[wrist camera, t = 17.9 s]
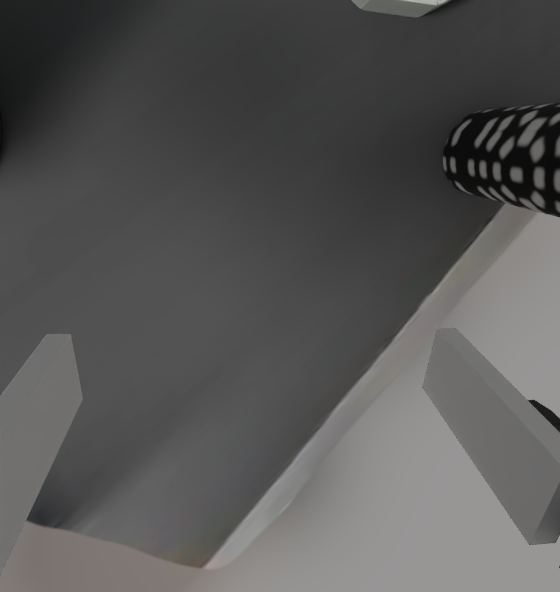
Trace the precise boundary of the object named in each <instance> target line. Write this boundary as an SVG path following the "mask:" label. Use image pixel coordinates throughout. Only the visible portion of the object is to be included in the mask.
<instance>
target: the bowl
mask: <svg viewBox="0 0 560 592" xmlns="http://www.w3.org/2000/svg"><path fill="white" fill-rule="evenodd" d="M351 1H352V2H353V3H354V4H355V5H356V6H357V7H359V8H360V9H362V8H363V9H362V10H364V11H371V12H378V13H386V14H393V15H401V16H408V17H416V18H418V17H421V16H423V15H425V14H426V13H428V12H430V11H432V10H434V9H436V8H438V7H440V6H442V5H444V4H446V3H448V2H450V1H452V0H351Z"/></svg>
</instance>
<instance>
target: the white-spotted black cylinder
mask: <svg viewBox="0 0 560 592" xmlns="http://www.w3.org/2000/svg"><path fill="white" fill-rule="evenodd" d="M443 166H444V171H445V174H446V176H447V178H448V180H449V181H450V183H451V184H452V185H453V186H454V187H455V188H457V189H458V190H460V191H462V192H465V193H469V194H473V195H477V196H480V197H484V198H488V199H492V200H496V201H499V202H503V203H507V204H511V205H515V206H519V207H522V208H526V209H530V210H534V211H538V212H542V213H545V214H550V215H553V216H557V217H560V103H550V104H539V105H529V106H518V107H507V108H496V109H486V110H480V111H477V112H474V113H472V114H470V115H468V116H467V117H465V118H464V119H463V120H461V121H460V122H459V123H458V124H457V125H456V126H455V128H454V129H453V130H452V132H451V134H450V135H449V137H448V139H447V142H446V145H445V147H444V153H443Z"/></svg>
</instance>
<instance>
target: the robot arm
mask: <svg viewBox="0 0 560 592" xmlns="http://www.w3.org/2000/svg"><path fill="white" fill-rule="evenodd" d="M1 143H2V122H1V115H0V149H1ZM423 389H424V391H425V392H426V393H427V395H428V396H429V398H430V399H431V401H432V402H433V404H434V405H435V407H436V408H437V409H438V411H439V413H440V414H441V415H442V417H443V419H444V420H445V421H446V423H447V424H448V426H449V427H450V429H451V430H452V432H453V433H454V435H455V436H456V438H457V439H458V441H459V442H460V444H461V445H462V447H463V448H464V449H465V451H466V452H467V454H468V455H469V456H470V458H471V460H472V461H473V463H474V464H475V465H476V467H477V469H478V470H479V471H480V473H481V474H482V476H483V477H484V479H485V480H486V482H487V483H488V485H489V486H490V488H491V489H492V491H493V492H494V494H495V495H496V496H497V498H498V500H499V501H500V503H501V504H502V505H503V507H504V508H505V510H506V511H507V513H508V514H509V515H510V517H511V519H512V520H513V522H514V523H515V525H516V526H517V528H518V529H519V531H520V532H521V534H522V535H523V536H524V538H525V539H526V541H527V542H528V544H529V545H536V544H546V543H556V541H557V539H558V537H559V535H560V419H559V418H558V417H557V416H556V415H555V414H554V413H553V412H552V411H551V410H549V409H548V408H546V407H545V406H543V405H541V404H540V403H538V402H537V401H535V400H527V399H526V398H525V397H524V396H523V395H522V394H521V393H520V392H519V391H518V390H517V389H516V388H515V387H514V386H513V385H512V384H511V383H510V382H509V381H508V380H507V379H506V378H505V377H504V376H503V375H502V374H501V373H500V372H499V371H498V370H497V369H496V368H495V367H494V366H493V365H492V364H491V363H490V362H489V361H488V360H487V359H486V358H485V357H484V356H483V355H482V354H481V353H480V352H479V351H478V350H477V349H476V348H475V347H474V346H473V345H472V344H471V343H470V342H469V341H468V340H467V339H466V338H465V337H464V336H463V335H462V334H461V333H460V332H459V331H458V330H457V329H456V328H450V329H449V328H447V329H446V328H444V329H443V328H442V329H437V330H436V334H435V339H434V343H433V347H432V351H431V355H430V359H429V363H428V367H427V371H426V375H425V379H424V383H423ZM82 400H83V398H82V392H81V387H80V382H79V376H78V371H77V366H76V360H75V355H74V350H73V344H72V339H71V334H46V335H45V337H44V338H43V339H42V341H41V342H40V343H39V345H38V346H37V347H36V349H35V350H34V351H33V353H32V354H31V355H30V357H29V358H28V359H27V361H26V362H25V363H24V365H23V366H22V367H21V369H20V370H19V371H18V373H17V374H16V376H15V377H14V378H13V380H12V381H11V382H10V384H9V385H8V386H7V388H6V389H5V390H4V392H3V393H2V394H1V396H0V575H1V573H2V570H3V568H4V566H5V564H6V562H7V560H8V557H9V555H10V553H11V551H12V549H13V547H14V545H15V542H16V540H17V538H18V536H19V534H20V532H21V530H22V528H23V525H24V523H25V521H26V519H27V517H28V515H29V513H30V511H31V508H32V506H33V504H34V502H35V500H36V498H37V496H38V494H39V491H40V489H41V487H42V485H43V483H44V481H45V479H46V476H47V474H48V472H49V470H50V468H51V466H52V464H53V461H54V459H55V457H56V455H57V453H58V451H59V449H60V447H61V444H62V442H63V440H64V438H65V436H66V434H67V432H68V429H69V427H70V425H71V423H72V421H73V419H74V417H75V414H76V412H77V410H78V408H79V406H80V404H81V402H82ZM559 568H560V567H559Z"/></svg>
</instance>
